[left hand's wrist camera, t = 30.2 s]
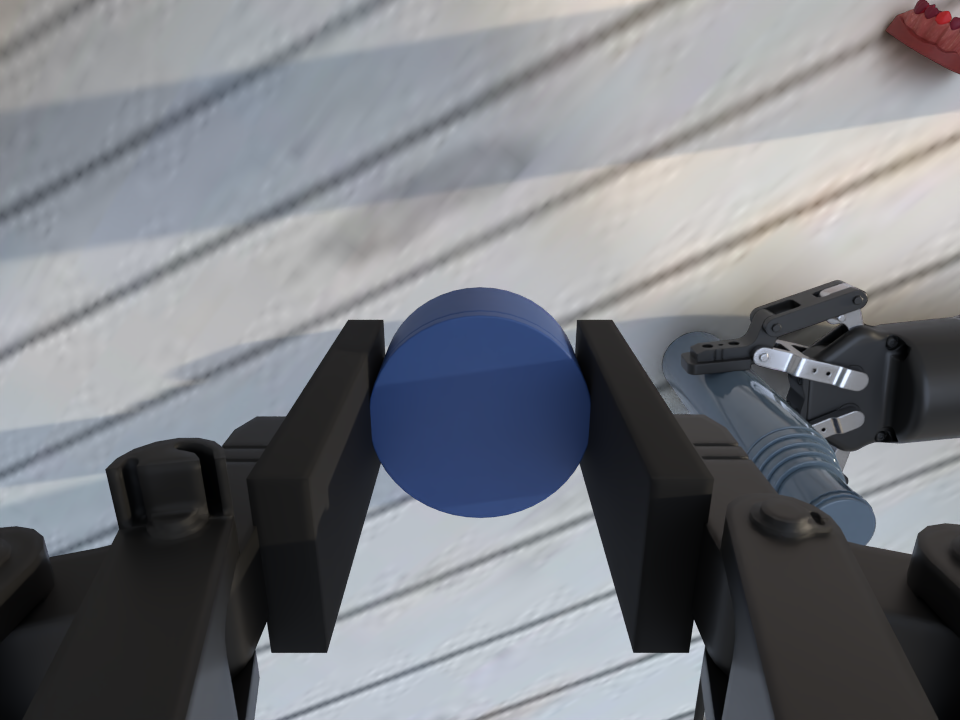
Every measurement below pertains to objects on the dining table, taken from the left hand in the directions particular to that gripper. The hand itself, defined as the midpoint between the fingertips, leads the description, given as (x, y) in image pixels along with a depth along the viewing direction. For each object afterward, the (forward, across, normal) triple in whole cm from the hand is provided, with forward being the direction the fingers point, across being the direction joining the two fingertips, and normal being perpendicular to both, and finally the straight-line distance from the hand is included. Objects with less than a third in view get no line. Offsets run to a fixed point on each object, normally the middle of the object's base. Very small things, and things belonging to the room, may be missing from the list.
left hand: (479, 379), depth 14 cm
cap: (-2, 0, 0) cm, 2 cm away
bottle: (+31, +16, -11) cm, 37 cm away
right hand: (+24, +13, -12) cm, 30 cm away
